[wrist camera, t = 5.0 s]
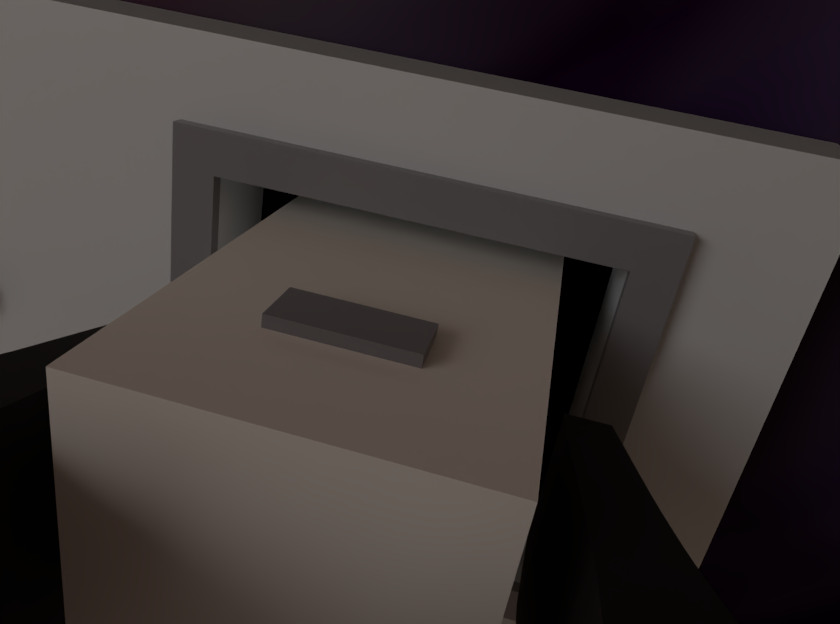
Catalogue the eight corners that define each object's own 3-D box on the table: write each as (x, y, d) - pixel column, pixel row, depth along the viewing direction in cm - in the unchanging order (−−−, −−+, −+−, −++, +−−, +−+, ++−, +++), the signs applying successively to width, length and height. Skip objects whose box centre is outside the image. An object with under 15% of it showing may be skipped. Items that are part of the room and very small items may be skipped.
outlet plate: (604, 701, 14) (606, 787, 12) (-109, 482, 16) (-184, 534, 14) (836, 143, 9) (886, 171, 8) (-217, -67, 11) (-343, -78, 10)
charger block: (507, 460, 12) (441, 820, 7) (289, 402, 13) (71, 694, 7) (567, 235, 10) (542, 487, 5) (311, 178, 11) (44, 349, 6)
